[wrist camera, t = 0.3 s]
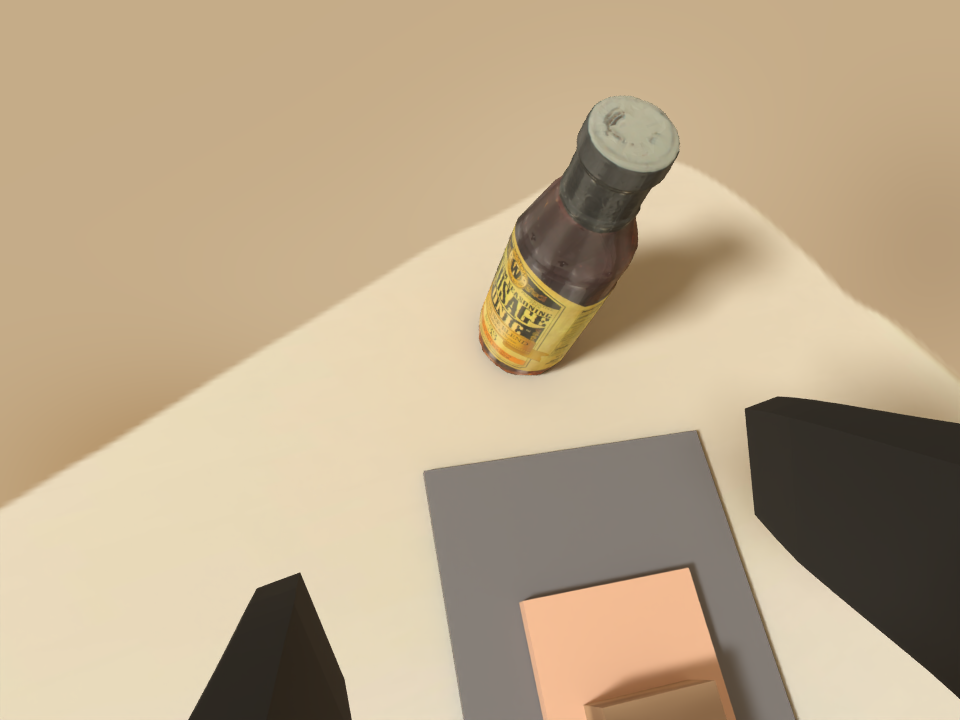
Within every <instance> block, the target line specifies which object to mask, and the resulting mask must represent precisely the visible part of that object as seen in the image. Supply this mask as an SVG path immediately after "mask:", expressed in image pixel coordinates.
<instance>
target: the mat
mask: <svg viewBox="0 0 960 720" xmlns="http://www.w3.org/2000/svg"><path fill="white" fill-rule="evenodd" d="M423 475H424V481H425V487H426V493H427V499H428V505H429V511H430V517H431V524H432V530H433V536H434V542H435V548H436V554H437V560H438V566H439V572H440V578H441V585H442V591H443V597H444V603H445V609H446V615H447V621H448V627H449V633H450V639H451V645H452V652H453V658H454V664H455V670H456V676H457V682H458V688H459V694H460V700H461V706H462V713H463V719H464V720H543V716H542V711H541V706H540V701H539V696H538V692H537V687H536V682H535V677H534V672H533V668H532V663H531V658H530V653H529V648H528V643H527V639H526V634H525V629H524V624H523V619H522V614H521V610H520V605H519V603H520V602H522V601H526V600H530V599H535V598H540V597H545V596H550V595H555V594H560V593H565V592H570V591H575V590H580V589H585V588H590V587H595V586H600V585H605V584H610V583H615V582H620V581H625V580H630V579H635V578H640V577H645V576H650V575H655V574H660V573H664V572H669V571H674V570H679V569H684V568H689V570H690V573H691V577H692V580H693V583H694V586H695V589H696V593H697V596H698V599H699V602H700V605H701V609H702V612H703V615H704V618H705V622H706V625H707V628H708V631H709V634H710V638H711V641H712V644H713V647H714V650H715V654H716V657H717V660H718V663H719V667H720V670H721V673H722V676H723V679H724V683H725V686H726V689H727V692H728V695H729V699H730V702H731V705H732V708H733V712H734V715H735V718H736V720H795V717H794V714H793V711H792V708H791V705H790V703H789V700H788V697H787V694H786V691H785V688H784V685H783V682H782V679H781V676H780V673H779V671H778V668H777V665H776V662H775V659H774V656H773V653H772V650H771V647H770V644H769V641H768V638H767V636H766V633H765V630H764V627H763V624H762V621H761V618H760V615H759V612H758V609H757V606H756V603H755V601H754V598H753V595H752V592H751V589H750V586H749V583H748V580H747V577H746V574H745V571H744V568H743V566H742V563H741V560H740V557H739V554H738V551H737V548H736V545H735V542H734V539H733V536H732V533H731V531H730V528H729V525H728V522H727V519H726V516H725V513H724V510H723V507H722V504H721V501H720V499H719V496H718V493H717V490H716V487H715V484H714V481H713V478H712V475H711V472H710V469H709V466H708V464H707V461H706V458H705V455H704V452H703V449H702V446H701V443H700V440H699V437H698V434H697V431H689V432H682V433H676V434H669V435H662V436H656V437H649V438H642V439H636V440H629V441H622V442H615V443H609V444H602V445H595V446H589V447H582V448H575V449H569V450H562V451H555V452H548V453H542V454H535V455H528V456H522V457H515V458H508V459H502V460H495V461H488V462H481V463H475V464H468V465H461V466H455V467H448V468H441V469H435V470H428V471H424V473H423Z"/></svg>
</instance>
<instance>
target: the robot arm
mask: <svg viewBox="0 0 960 720" xmlns="http://www.w3.org/2000/svg"><path fill="white" fill-rule="evenodd" d="M745 416H746V427H747V437H748V448H749V458H750V469H751V479H752V490H753V500H754V511H755V515H756V516H757V518H758V519H759V520H760V521H761V522H762V523H763V524H764V525H765V527H766V528H767V529H768V530H769V531H770V532H771V533H772V534H773V536H774V537H775V538H776V539H777V540H778V541H779V542H780V543H781V544H782V545H783V546H784V547H785V549H786V550H787V551H788V552H789V553H790V554H791V555H792V556H793V557H794V558H795V559H796V560H797V561H798V562H799V563H800V564H801V565H802V566H804V567H805V568H806V569H807V570H808V571H809V572H810V573H812V574H813V575H814V576H815V577H816V578H817V579H819V580H820V581H821V582H822V583H823V584H825V585H826V586H827V587H828V588H829V589H830V590H832V591H833V592H834V593H835V594H836V595H838V596H839V597H840V598H841V599H842V600H844V601H845V602H846V603H847V604H848V605H850V606H851V607H852V608H853V609H854V610H856V611H857V612H858V613H859V614H860V615H862V616H863V617H864V618H865V619H867V620H868V621H869V622H870V623H871V624H873V625H874V626H875V627H876V628H877V629H879V630H880V631H881V632H882V633H883V634H885V635H886V636H887V637H888V638H889V639H891V640H892V641H893V642H894V643H896V644H897V645H898V646H899V647H900V648H902V649H903V650H904V651H905V652H906V653H908V654H909V655H910V656H911V657H912V658H914V659H915V660H916V661H917V662H918V663H920V664H921V665H922V666H923V667H925V668H926V669H927V670H928V671H929V672H930V673H931V674H933V675H934V676H935V677H936V678H937V679H938V680H939V681H940V682H942V683H943V684H944V685H945V686H946V687H947V688H948V689H949V690H951V691H952V692H953V693H954V694H955V695H956V696H957V697H958V698H959V699H960V424H959V423H953V422H946V421H940V420H933V419H927V418H921V417H915V416H909V415H903V414H897V413H891V412H885V411H879V410H873V409H867V408H861V407H855V406H849V405H843V404H837V403H830V402H823V401H817V400H809V399H801V398H792V397H775V398H772V399H770V400H767V401H764V402H762V403H759V404H756V405H753V406H751V407H748V408H745ZM188 720H352V719H351V713H350V708H349V702H348V696H347V691H346V685H345V680H344V677H343V675H342V672H341V670H340V668H339V665H338V663H337V660H336V658H335V656H334V653H333V651H332V648H331V646H330V643H329V641H328V639H327V636H326V634H325V631H324V629H323V627H322V624H321V622H320V619H319V617H318V614H317V612H316V610H315V607H314V605H313V602H312V600H311V598H310V595H309V593H308V590H307V588H306V585H305V583H304V581H303V578H302V576H301V573H297V574H295V575H292V576H289V577H287V578H284V579H281V580H278V581H276V582H273V583H270V584H268V585H265V586H262V587H259V588H257V589H256V591H255V593H254V595H253V597H252V598H251V600H250V602H249V604H248V606H247V608H246V610H245V612H244V614H243V616H242V618H241V620H240V622H239V624H238V626H237V628H236V630H235V632H234V634H233V636H232V638H231V640H230V642H229V644H228V646H227V648H226V650H225V652H224V654H223V655H222V657H221V659H220V661H219V663H218V665H217V667H216V669H215V671H214V673H213V675H212V677H211V679H210V680H209V682H208V684H207V686H206V688H205V690H204V692H203V693H202V695H201V697H200V699H199V701H198V703H197V705H196V706H195V708H194V710H193V712H192V714H191V716H190V718H189V719H188Z"/></svg>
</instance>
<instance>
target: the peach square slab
mask: <svg viewBox="0 0 960 720" xmlns="http://www.w3.org/2000/svg"><path fill="white" fill-rule="evenodd" d="M519 605H520V610H521V614H522V619H523V624H524V629H525V634H526V639H527V643H528V648H529V653H530V658H531V663H532V668H533V672H534V677H535V682H536V687H537V692H538V696H539V701H540V706H541V711H542V716H543V720H736V718H735V715H734V712H733V708H732V705H731V702H730V699H729V695H728V692H727V689H726V686H725V683H724V679H723V676H722V673H721V670H720V667H719V663H718V660H717V657H716V654H715V650H714V647H713V644H712V641H711V638H710V634H709V631H708V628H707V625H706V622H705V618H704V615H703V612H702V609H701V605H700V602H699V599H698V596H697V593H696V589H695V586H694V583H693V580H692V577H691V573H690V570H689V568H684V569H679V570H674V571H669V572H664V573H660V574H655V575H650V576H645V577H640V578H635V579H630V580H625V581H620V582H615V583H610V584H605V585H600V586H595V587H590V588H585V589H580V590H575V591H570V592H565V593H560V594H555V595H550V596H545V597H540V598H535V599H530V600H526V601H522V602H520V603H519Z"/></svg>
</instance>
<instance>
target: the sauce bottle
mask: <svg viewBox="0 0 960 720" xmlns="http://www.w3.org/2000/svg"><path fill="white" fill-rule="evenodd" d="M679 145H680V142H679V136H678V132H677V130H676V128H675V126H674V125H673V124H672V122H671V121H670V120H669V118H668V117H667V115H666V114H665V113H664V112H663V111H662V110H661V109H659V108H658V107H656V106H655V105H653V104H652V103H649V102H646V101H643V100H641V99H638V98H635V97H632V96H614V97H609V98H607V99H604V100H603V101H600V102H599V103H597V104H596V105H595V106H594V107H593V108H592V110H591V111H590V113H589V114H588V116H587V118H586V120H585V121H584V123H583V126H582V128H581V129H580V131H579V133H578V137H577V150H576V152H575V154H574V155H573V158H572V160H571V162H570V165H569V167H568V168H567V169H566V171H565V172H564V174H563V175H562V176H561V177H560V178H558V179H556V180H555V181H554V182H553V183H552V184H551V185H550V186H549V187H548V188H547V189H546V190H545V191H544V192H543V193H542V194H541V195H540V196H539V197H538V198H537V199H536V200H535V201H534V202H533V204H532V205H531V206H530V207H529V208H528V209H527V210H526V211H525V212H524V213H523V214H522V215H521V216H520V217H519V218H518V220H517V222H516V224H515V227H514V229H513V231H512V234H511V236H510V239H509V242H508V244H507V247H506V249H505V252H504V253H503V257H502V259H501V261H500V264H499V266H498V268H497V272H496V274H495V277H494V280H493V282H492V285H491V287H490V290H489V292H488V294H487V297H486V300H485V302H484V304H483V307H482V310H481V314H480V324H479V340H480V343H481V345H482V350H483V351H484V352H485V354H486V355H487V356H488V358H489V359H490V360H491V361H492V362H493V363H495V364H496V366H499V367H500V368H501V369H502V370H504V371H505V372H507V373H511V374H514V375H537V374H541V373H543V372H545V371H546V370H548V369H549V368H551V367H552V366H553V365H555V364H556V363H558V362H559V361H561V359H562V358H563V357H564V356H565V354H566V353H567V352H568V350H569V349H570V348H571V346H572V345H573V343H574V342H575V341H576V339H577V338H578V337H579V335H580V334H581V333H582V331H583V330H584V329H585V327H586V326H587V325H588V323H589V322H590V321H591V319H592V318H593V317H594V315H595V314H596V312H597V311H598V310H599V308H600V307H601V306H602V304H603V303H604V301H605V300H606V299H607V297H608V296H609V295H610V293H611V292H612V290H613V289H614V287H615V285H616V283H617V280H618V279H619V278H620V276H621V275H622V274H623V272H624V271H625V270H626V269H627V267H628V265H629V264H630V262H631V260H632V258H633V256H634V254H635V251H636V249H637V247H638V229H637V222H636V215H637V214H638V212H639V211H640V206H641V204H642V202H643V200H644V199H645V198H646V196H647V194H648V193H649V191H650V190H651V188H652V187H654V186H656V185H657V184H659V183H660V182H661V181H662V180H663V179H664V178H665V176H666V175H667V173H668V172H669V170H670V168H671V166H672V165H673V163H674V161H675V159H676V158H677V156H678V153H679Z"/></svg>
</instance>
